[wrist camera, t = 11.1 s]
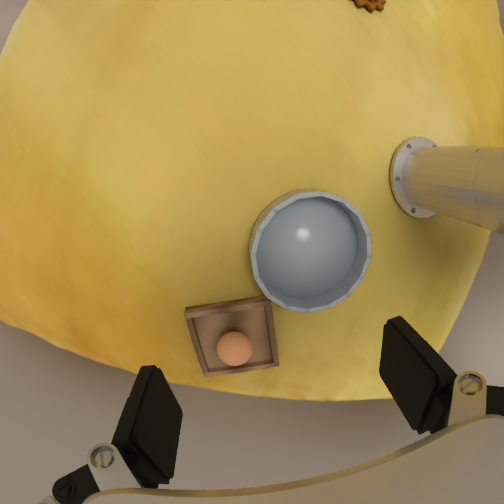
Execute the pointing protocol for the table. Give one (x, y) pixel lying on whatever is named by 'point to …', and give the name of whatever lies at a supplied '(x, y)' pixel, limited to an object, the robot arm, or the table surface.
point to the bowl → (309, 250)
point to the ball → (234, 348)
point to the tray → (233, 319)
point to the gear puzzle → (371, 4)
